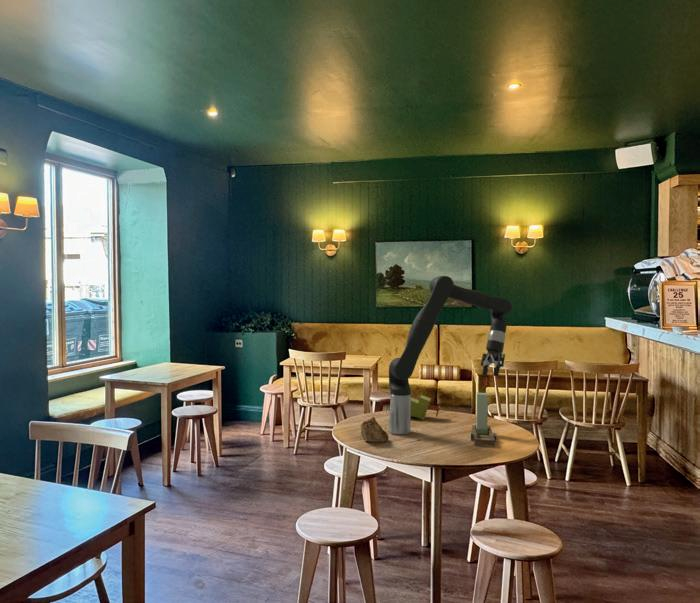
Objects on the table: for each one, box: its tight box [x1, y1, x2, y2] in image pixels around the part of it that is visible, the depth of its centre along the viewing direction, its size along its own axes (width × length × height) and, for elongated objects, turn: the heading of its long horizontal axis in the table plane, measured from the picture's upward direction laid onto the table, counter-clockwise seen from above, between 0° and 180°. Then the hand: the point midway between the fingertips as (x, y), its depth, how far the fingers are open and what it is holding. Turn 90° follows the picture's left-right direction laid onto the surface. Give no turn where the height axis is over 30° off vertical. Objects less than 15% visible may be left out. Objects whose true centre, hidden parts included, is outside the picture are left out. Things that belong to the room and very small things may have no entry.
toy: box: [411, 394, 441, 421], centre depth 256 cm, size 9×12×20 cm
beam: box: [470, 425, 497, 448], centre depth 218 cm, size 24×10×3 cm, turn 169°
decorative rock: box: [360, 416, 390, 443], centre depth 213 cm, size 12×6×11 cm, turn 105°
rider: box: [475, 392, 489, 434], centre depth 226 cm, size 6×5×17 cm
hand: (489, 375), depth 230 cm, fingers open, 8 cm apart
